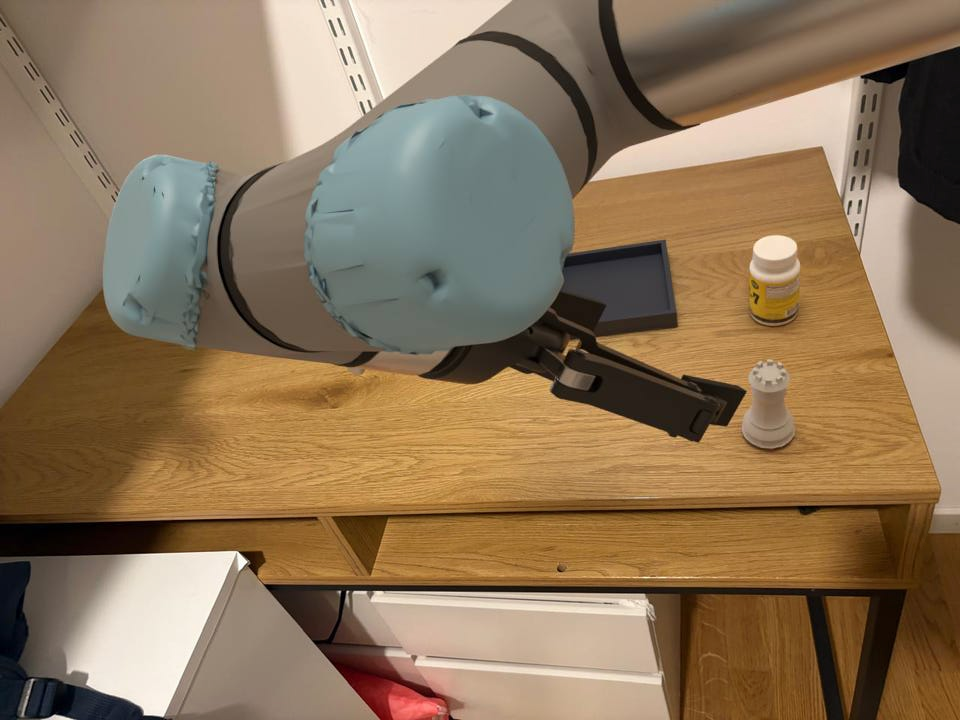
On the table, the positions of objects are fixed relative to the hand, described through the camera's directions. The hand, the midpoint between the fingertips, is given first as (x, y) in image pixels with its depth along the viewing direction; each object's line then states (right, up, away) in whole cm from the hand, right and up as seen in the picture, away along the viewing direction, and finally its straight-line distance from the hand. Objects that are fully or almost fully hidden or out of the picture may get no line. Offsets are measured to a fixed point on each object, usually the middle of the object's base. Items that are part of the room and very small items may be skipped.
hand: (658, 358), depth 54 cm
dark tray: (+2, +7, +32) cm, 33 cm away
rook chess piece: (+13, -7, +13) cm, 20 cm away
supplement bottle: (+18, +5, +24) cm, 30 cm away
